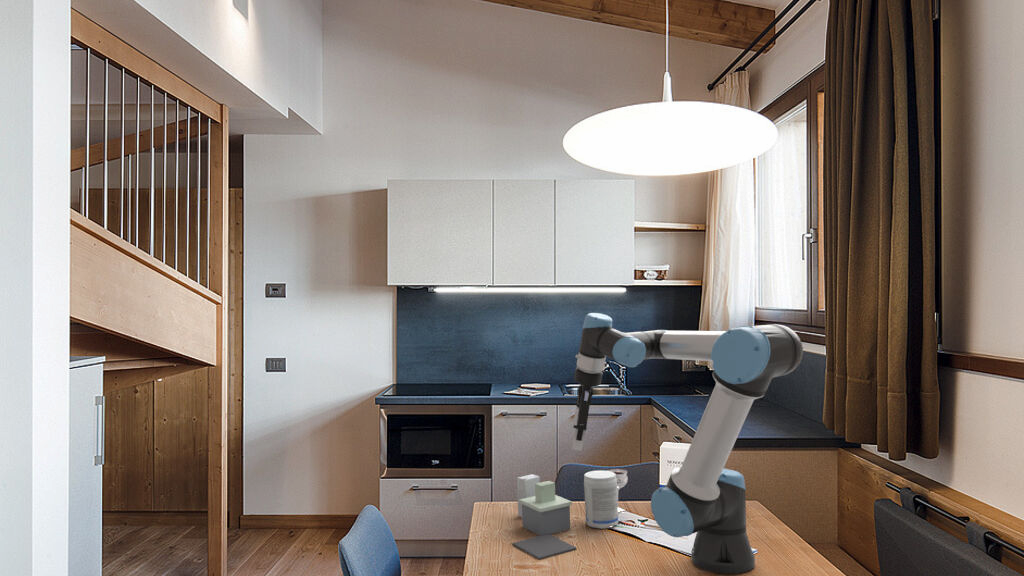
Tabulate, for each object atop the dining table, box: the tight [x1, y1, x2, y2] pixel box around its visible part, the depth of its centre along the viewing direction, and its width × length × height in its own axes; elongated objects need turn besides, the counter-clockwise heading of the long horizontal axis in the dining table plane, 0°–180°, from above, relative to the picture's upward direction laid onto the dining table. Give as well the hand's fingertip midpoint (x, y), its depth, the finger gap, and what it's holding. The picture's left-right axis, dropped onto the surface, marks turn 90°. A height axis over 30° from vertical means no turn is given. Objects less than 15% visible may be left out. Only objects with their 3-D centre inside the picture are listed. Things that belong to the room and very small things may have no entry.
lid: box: [519, 480, 573, 512], centre depth 201 cm, size 11×11×7 cm
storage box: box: [521, 504, 571, 536], centre depth 201 cm, size 10×10×7 cm
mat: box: [512, 534, 577, 560], centre depth 186 cm, size 13×12×1 cm
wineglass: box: [606, 468, 629, 512], centre depth 215 cm, size 7×7×12 cm
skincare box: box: [516, 473, 541, 518], centre depth 212 cm, size 6×4×12 cm
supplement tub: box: [583, 470, 619, 530], centre depth 202 cm, size 10×10×15 cm
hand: (576, 439), depth 195 cm, fingers open, 13 cm apart
